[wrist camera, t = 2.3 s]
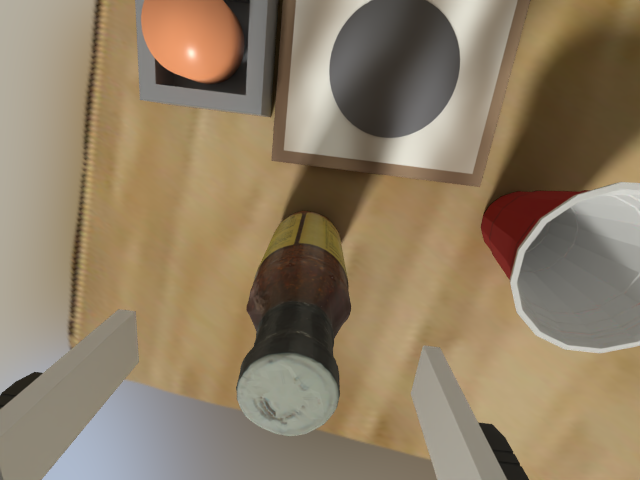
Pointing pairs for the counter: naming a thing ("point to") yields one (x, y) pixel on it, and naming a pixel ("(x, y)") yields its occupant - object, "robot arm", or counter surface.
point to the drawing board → (394, 84)
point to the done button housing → (234, 93)
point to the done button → (194, 38)
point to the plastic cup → (572, 263)
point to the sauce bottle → (295, 328)
